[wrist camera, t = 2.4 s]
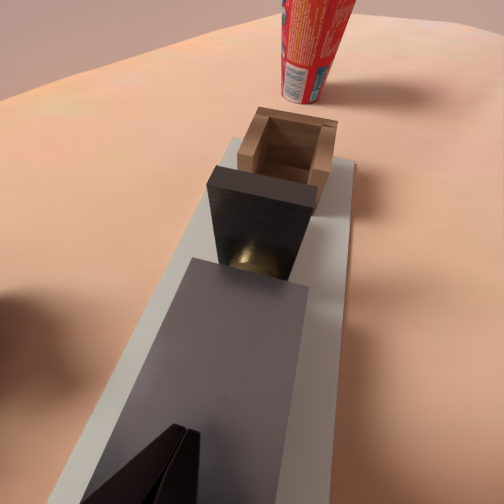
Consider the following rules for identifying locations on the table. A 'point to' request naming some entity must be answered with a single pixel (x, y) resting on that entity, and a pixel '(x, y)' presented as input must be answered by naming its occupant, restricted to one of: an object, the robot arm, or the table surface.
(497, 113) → the table surface
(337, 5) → the cup
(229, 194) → the sliding bolt
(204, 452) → the sleeve
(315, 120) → the socket
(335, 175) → the board
